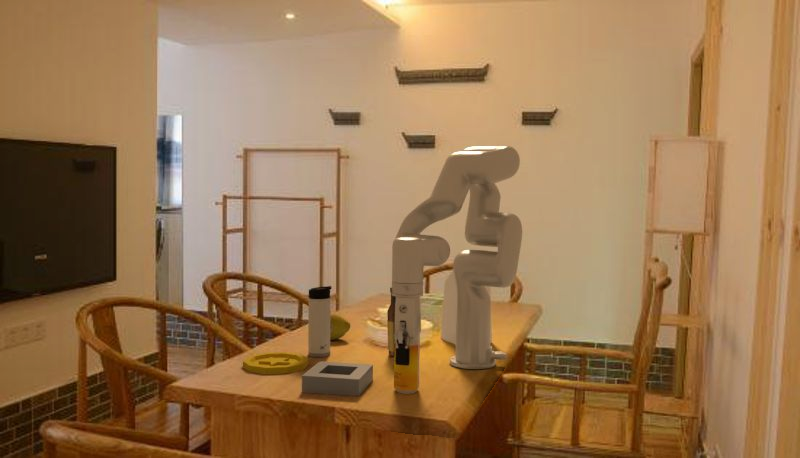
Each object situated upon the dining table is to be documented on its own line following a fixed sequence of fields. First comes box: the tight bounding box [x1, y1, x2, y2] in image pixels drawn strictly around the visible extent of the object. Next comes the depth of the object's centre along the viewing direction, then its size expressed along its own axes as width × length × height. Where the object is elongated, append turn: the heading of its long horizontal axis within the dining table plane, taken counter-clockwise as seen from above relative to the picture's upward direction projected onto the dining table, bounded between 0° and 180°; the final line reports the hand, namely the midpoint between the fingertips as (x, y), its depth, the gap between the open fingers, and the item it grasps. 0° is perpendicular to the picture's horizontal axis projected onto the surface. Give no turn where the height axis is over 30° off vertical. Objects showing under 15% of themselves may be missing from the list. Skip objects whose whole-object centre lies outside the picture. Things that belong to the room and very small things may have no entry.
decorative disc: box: [242, 351, 309, 375], centre depth 198 cm, size 17×18×2 cm
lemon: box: [330, 313, 351, 341], centre depth 230 cm, size 11×8×8 cm
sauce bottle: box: [386, 286, 396, 358], centre depth 210 cm, size 6×6×20 cm
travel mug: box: [307, 285, 333, 358], centre depth 210 cm, size 6×7×20 cm
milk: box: [440, 270, 493, 346], centre depth 230 cm, size 12×12×26 cm
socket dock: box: [301, 360, 374, 397], centre depth 179 cm, size 14×14×4 cm
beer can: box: [393, 332, 421, 395], centre depth 175 cm, size 6×6×15 cm
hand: (406, 359), depth 175 cm, fingers open, 9 cm apart
